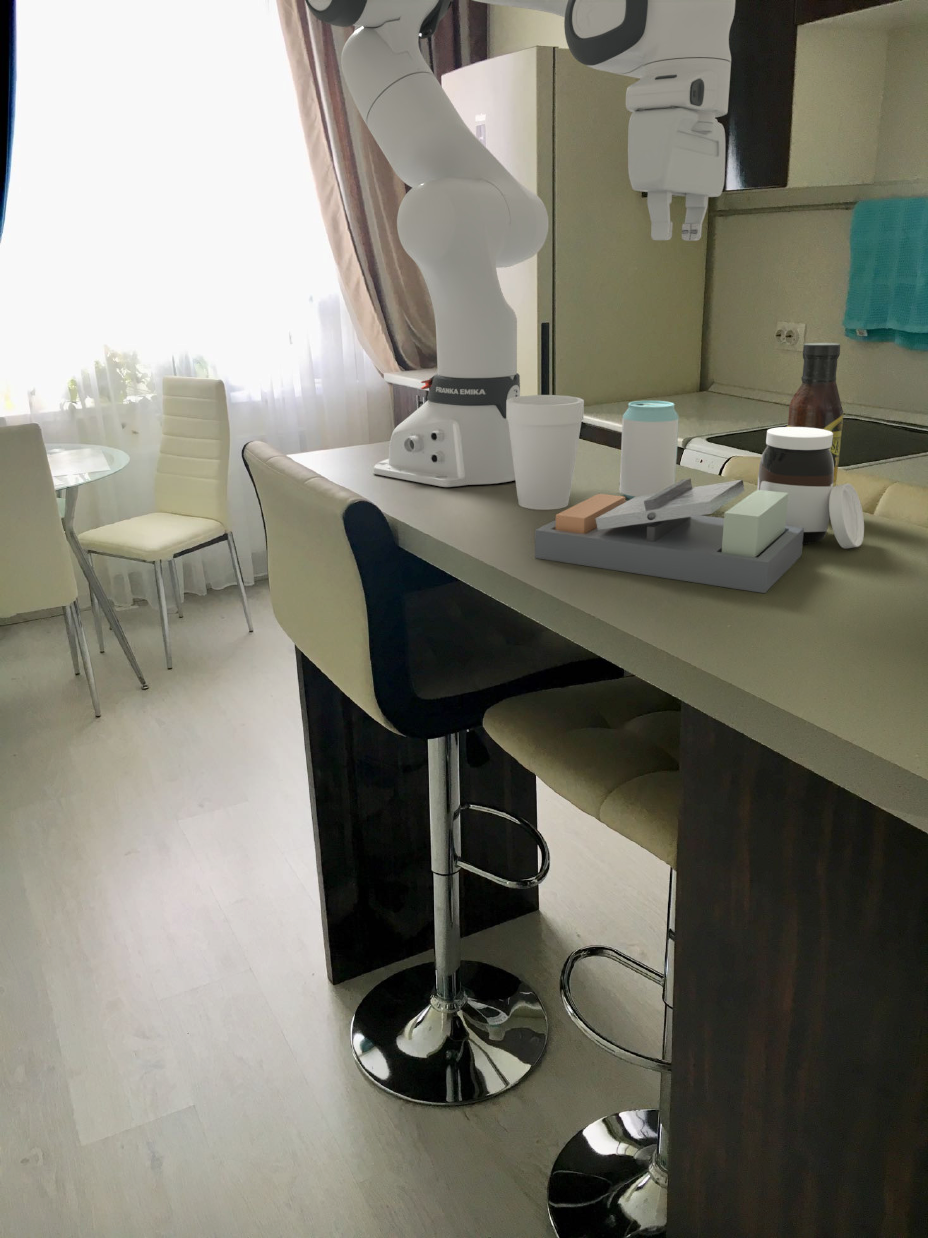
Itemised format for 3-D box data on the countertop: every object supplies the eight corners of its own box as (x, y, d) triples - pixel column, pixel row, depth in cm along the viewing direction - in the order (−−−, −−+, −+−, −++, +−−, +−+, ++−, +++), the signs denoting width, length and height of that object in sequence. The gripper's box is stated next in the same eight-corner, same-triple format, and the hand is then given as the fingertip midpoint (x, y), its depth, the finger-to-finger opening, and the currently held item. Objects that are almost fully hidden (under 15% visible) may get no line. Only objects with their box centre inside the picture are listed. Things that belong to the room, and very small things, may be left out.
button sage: (721, 553, 96) (724, 512, 95) (753, 527, 105) (756, 489, 104) (754, 557, 95) (758, 516, 94) (784, 531, 104) (788, 492, 102)
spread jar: (749, 523, 118) (758, 423, 114) (850, 527, 116) (863, 425, 112) (759, 552, 107) (769, 442, 103) (871, 556, 105) (886, 444, 101)
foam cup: (525, 515, 122) (526, 407, 118) (494, 499, 130) (494, 397, 126) (594, 507, 126) (597, 402, 121) (560, 492, 134) (562, 393, 129)
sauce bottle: (836, 519, 119) (856, 346, 112) (781, 517, 120) (798, 345, 113) (828, 506, 125) (847, 341, 118) (776, 505, 126) (792, 340, 119)
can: (616, 501, 129) (620, 406, 125) (621, 489, 135) (625, 398, 131) (672, 503, 127) (678, 407, 123) (675, 491, 134) (680, 399, 130)
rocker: (596, 530, 102) (592, 509, 102) (639, 506, 112) (635, 487, 111) (710, 514, 96) (706, 491, 95) (745, 490, 105) (741, 469, 104)
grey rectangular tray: (534, 557, 106) (535, 516, 104) (589, 527, 117) (591, 489, 115) (764, 593, 94) (769, 546, 92) (801, 555, 105) (805, 513, 104)
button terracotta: (555, 551, 106) (555, 514, 104) (597, 528, 115) (598, 493, 113) (582, 556, 104) (584, 518, 103) (623, 531, 113) (625, 496, 112)
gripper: (688, 110, 114) (680, 240, 119) (618, 87, 98) (613, 240, 102) (743, 105, 111) (733, 240, 116) (681, 81, 94) (672, 239, 99)
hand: (676, 240), depth 109 cm, fingers open, 8 cm apart
